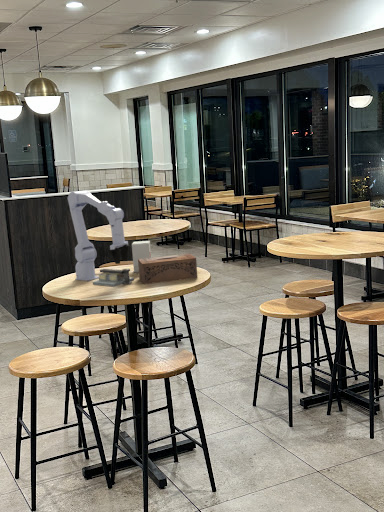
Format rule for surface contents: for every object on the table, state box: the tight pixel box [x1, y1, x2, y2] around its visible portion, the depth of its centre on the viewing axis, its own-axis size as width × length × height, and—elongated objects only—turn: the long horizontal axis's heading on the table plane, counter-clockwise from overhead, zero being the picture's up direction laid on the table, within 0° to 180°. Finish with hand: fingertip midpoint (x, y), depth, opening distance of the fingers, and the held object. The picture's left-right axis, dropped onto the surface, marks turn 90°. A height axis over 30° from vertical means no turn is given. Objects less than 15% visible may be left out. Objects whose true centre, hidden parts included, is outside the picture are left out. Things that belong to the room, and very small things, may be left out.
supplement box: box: [131, 240, 152, 273], centre depth 331 cm, size 9×9×15 cm
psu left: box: [98, 272, 114, 281], centre depth 309 cm, size 5×6×3 cm
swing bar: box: [99, 268, 131, 274], centre depth 305 cm, size 18×4×2 cm, turn 54°
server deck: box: [92, 271, 135, 287], centre depth 306 cm, size 18×14×6 cm
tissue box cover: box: [138, 253, 199, 285], centre depth 307 cm, size 26×14×10 cm, turn 103°
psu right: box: [109, 273, 124, 282], centre depth 305 cm, size 5×6×3 cm
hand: (121, 262), depth 303 cm, fingers open, 7 cm apart
